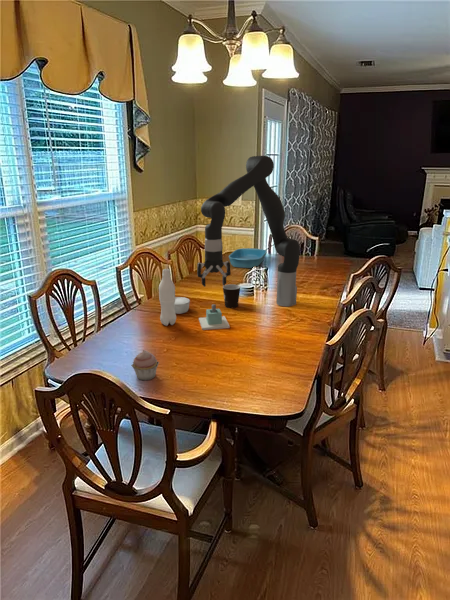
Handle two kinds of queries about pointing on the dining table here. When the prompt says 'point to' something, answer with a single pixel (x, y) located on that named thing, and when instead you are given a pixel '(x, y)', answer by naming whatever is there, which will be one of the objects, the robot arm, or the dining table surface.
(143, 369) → the cupcake
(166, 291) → the water bottle
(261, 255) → the casserole dish
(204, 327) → the post stand
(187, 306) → the ramekin
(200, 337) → the dining table surface
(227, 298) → the coffee mug
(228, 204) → the robot arm
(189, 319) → the dining table surface
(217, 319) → the collar
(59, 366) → the dining table surface
